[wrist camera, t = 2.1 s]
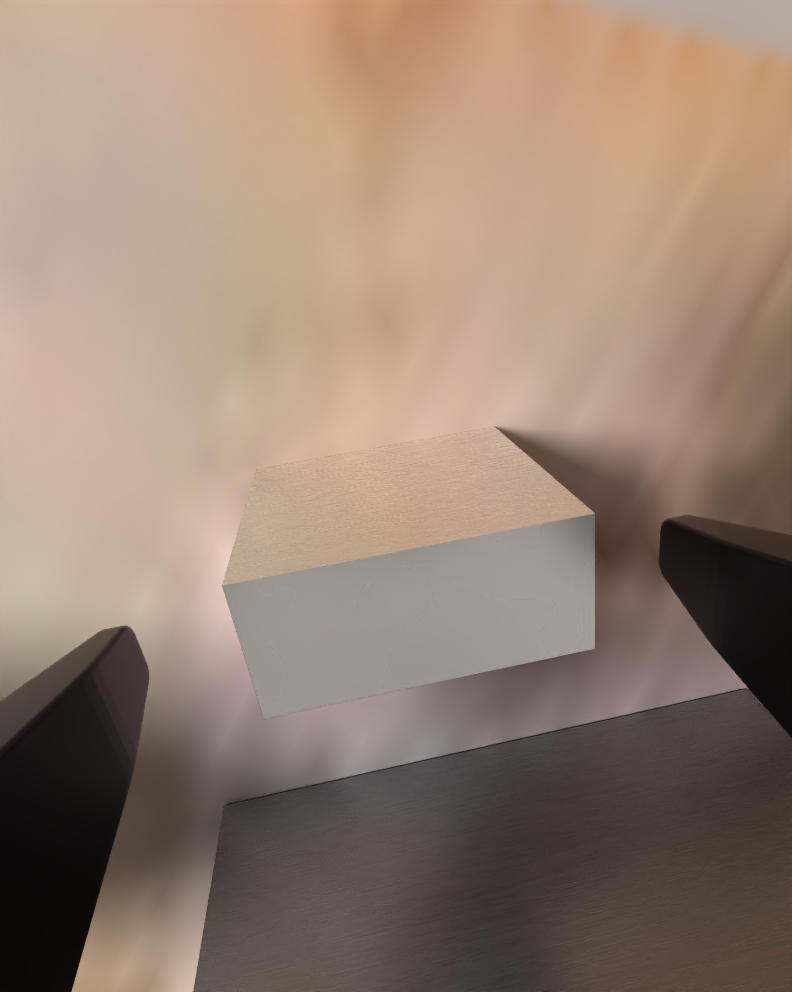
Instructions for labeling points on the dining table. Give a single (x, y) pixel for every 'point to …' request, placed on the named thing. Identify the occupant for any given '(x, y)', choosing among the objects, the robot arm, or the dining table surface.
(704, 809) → the cash box
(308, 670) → the light grey block
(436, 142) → the dining table surface
